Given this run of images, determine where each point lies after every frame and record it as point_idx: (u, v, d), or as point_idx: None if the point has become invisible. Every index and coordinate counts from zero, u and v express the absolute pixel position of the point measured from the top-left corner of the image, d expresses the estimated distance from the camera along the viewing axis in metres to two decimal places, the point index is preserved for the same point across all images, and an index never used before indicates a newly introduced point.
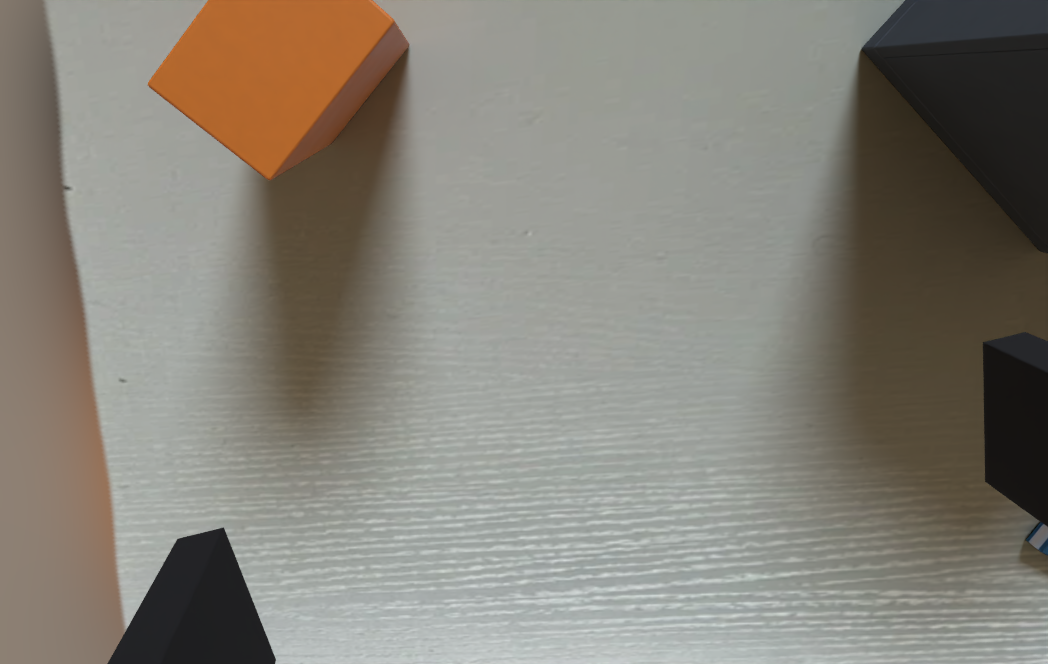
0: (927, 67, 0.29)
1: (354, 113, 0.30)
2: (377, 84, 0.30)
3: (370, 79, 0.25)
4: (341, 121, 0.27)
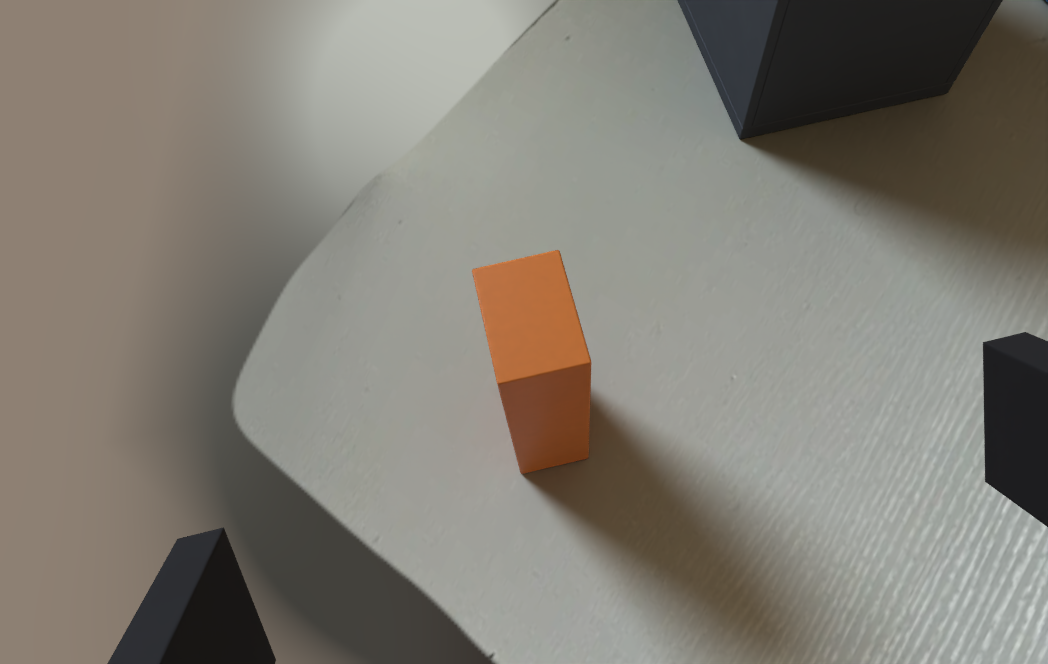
0: (770, 95, 0.44)
1: None
2: None
3: None
4: None
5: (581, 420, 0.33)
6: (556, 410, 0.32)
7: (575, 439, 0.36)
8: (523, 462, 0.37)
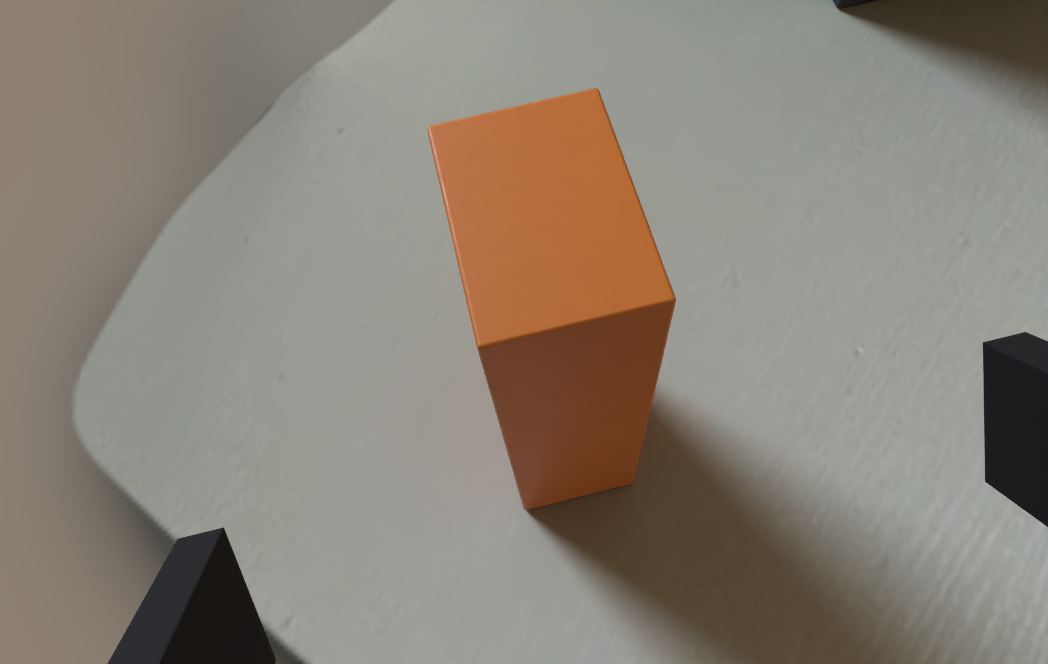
0: None
1: None
2: None
3: None
4: None
5: (633, 423, 0.19)
6: (593, 405, 0.17)
7: (618, 454, 0.21)
8: (528, 493, 0.22)
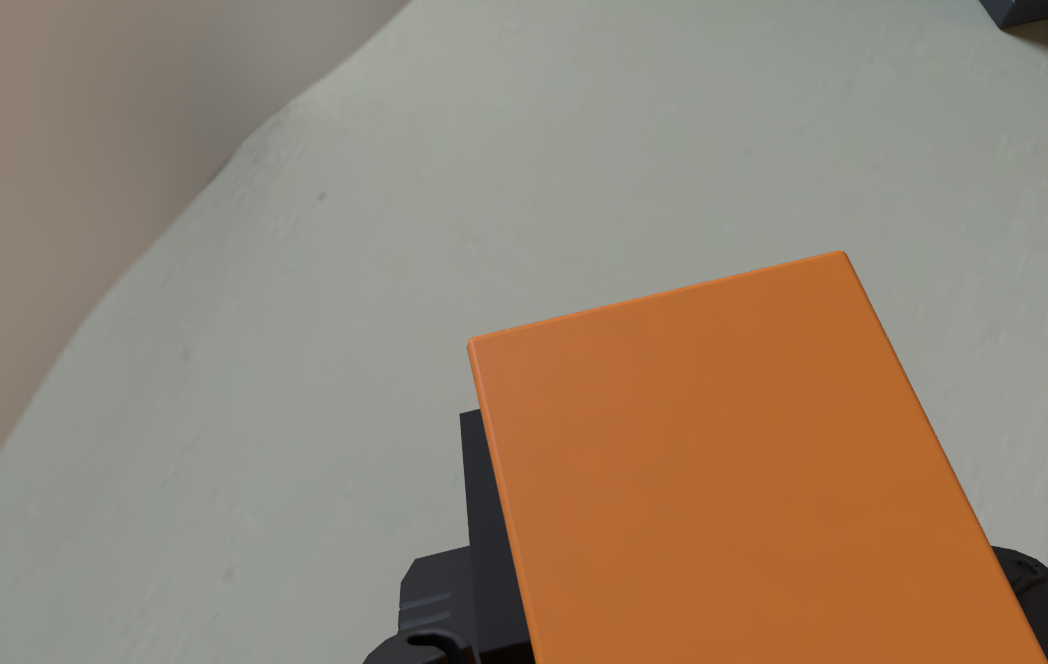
0: None
1: None
2: None
3: None
4: None
5: None
6: None
7: None
8: None
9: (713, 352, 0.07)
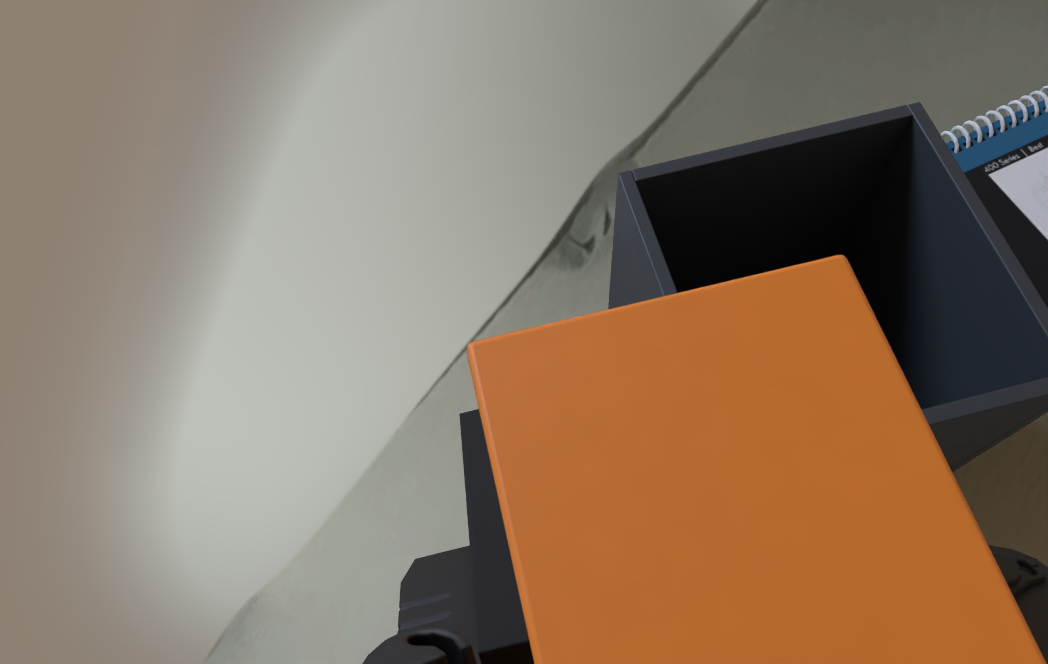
0: None
1: None
2: None
3: None
4: None
5: None
6: None
7: None
8: None
9: (713, 356, 0.07)
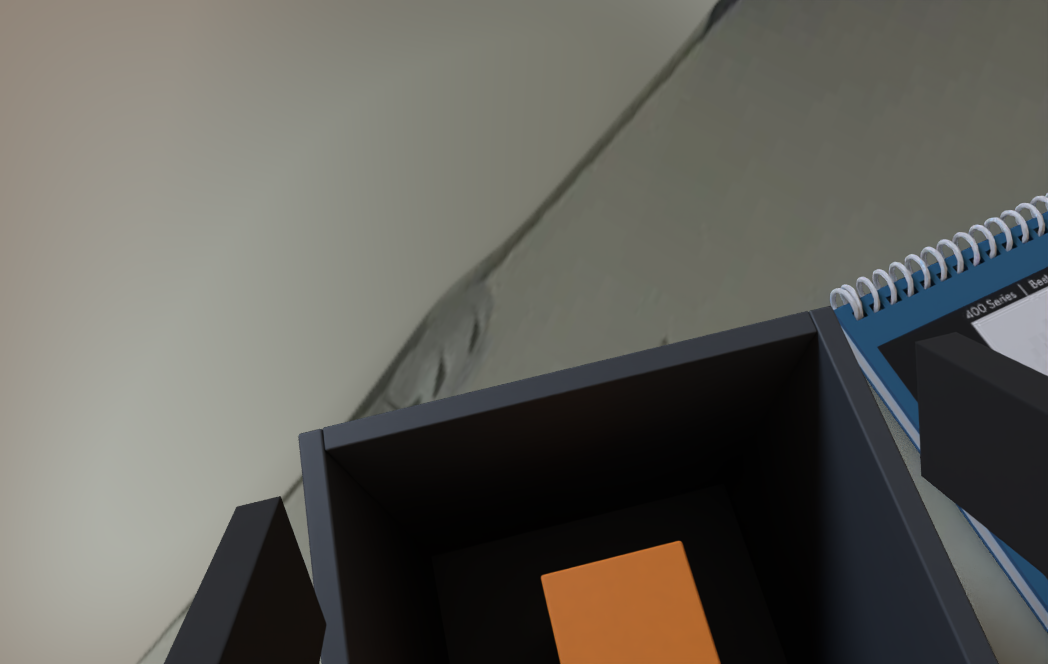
0: None
1: None
2: None
3: None
4: None
5: None
6: None
7: None
8: None
9: (630, 584, 0.18)
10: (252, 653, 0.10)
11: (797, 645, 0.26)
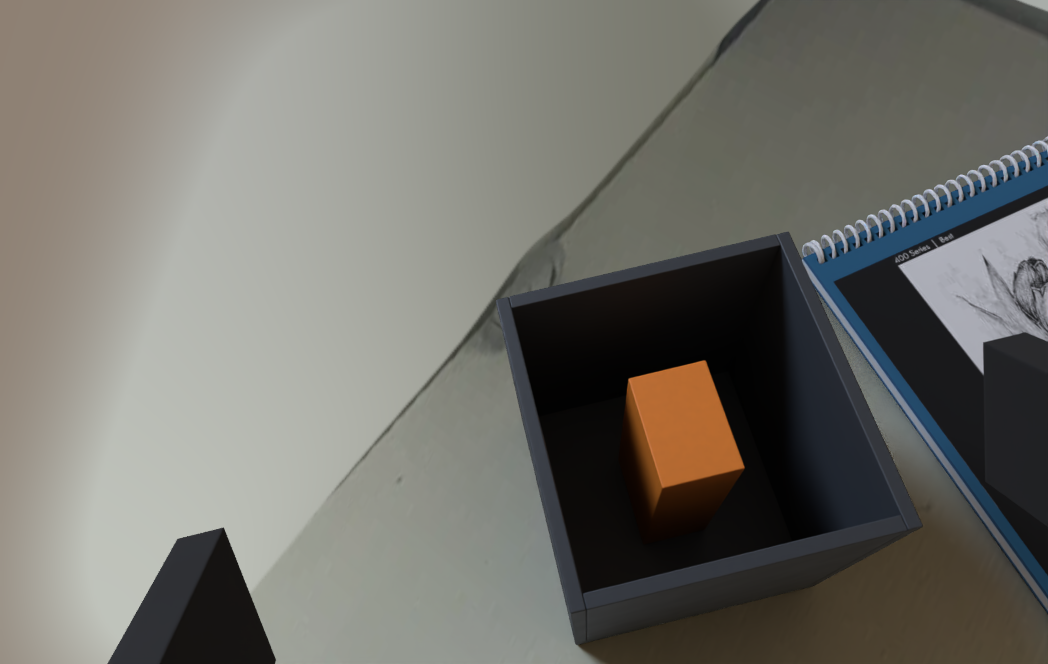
0: (598, 634, 0.38)
1: None
2: None
3: None
4: None
5: (714, 505, 0.37)
6: (698, 501, 0.35)
7: (702, 518, 0.39)
8: (650, 536, 0.40)
9: (678, 381, 0.33)
10: None
11: (774, 460, 0.41)
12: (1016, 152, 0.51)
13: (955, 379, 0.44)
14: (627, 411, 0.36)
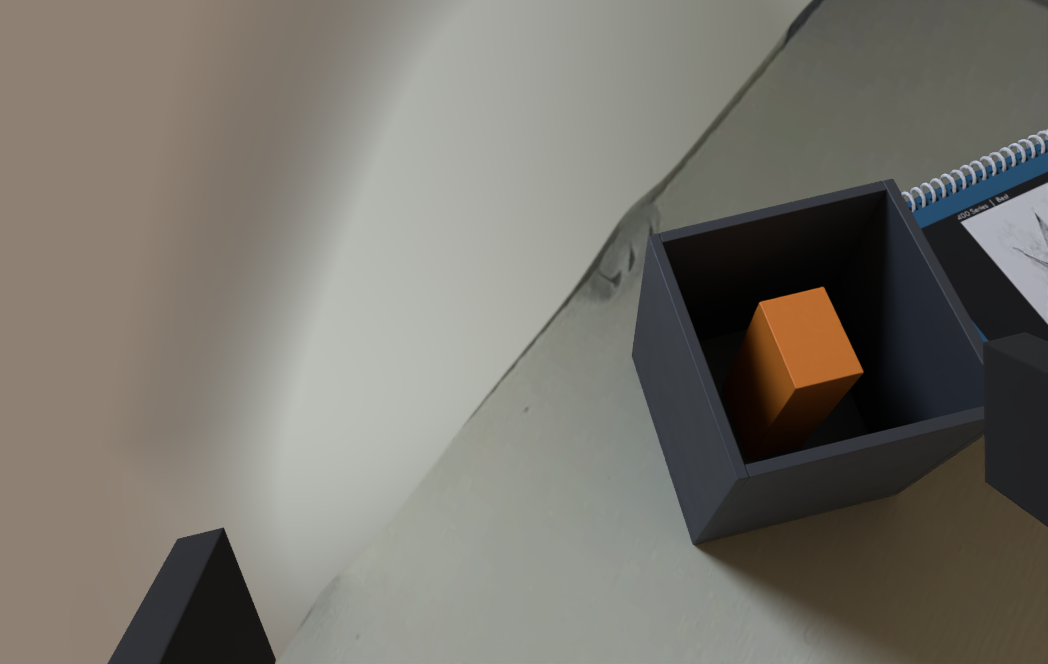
0: (720, 529, 0.44)
1: None
2: None
3: None
4: None
5: (822, 416, 0.43)
6: (813, 408, 0.41)
7: (806, 431, 0.45)
8: (758, 449, 0.47)
9: (802, 304, 0.40)
10: None
11: (864, 385, 0.48)
12: None
13: (1015, 319, 0.51)
14: (750, 334, 0.42)
